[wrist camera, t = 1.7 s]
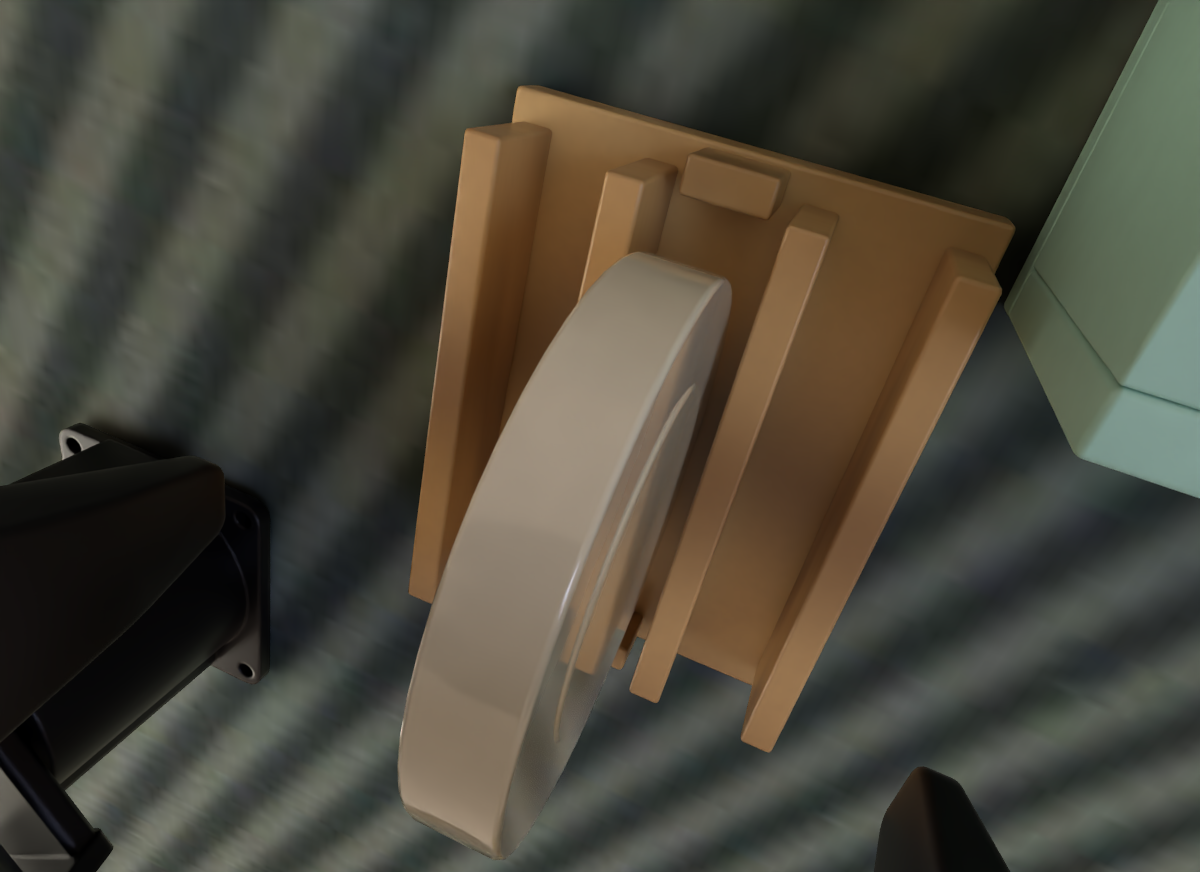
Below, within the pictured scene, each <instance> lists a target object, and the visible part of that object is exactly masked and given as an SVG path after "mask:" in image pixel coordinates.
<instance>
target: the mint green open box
mask: <svg viewBox="0 0 1200 872" xmlns="http://www.w3.org/2000/svg"><path fill="white" fill-rule="evenodd" d="M1004 309H1005V311H1006V313H1007V315H1008V316H1009V317H1010V320H1011V322H1012V324H1013V326H1014V328H1015V330H1016V332H1017V334H1018V337H1019V339H1020V341H1021V343H1022V345H1023V347H1024V349H1025V351H1026V353H1027V355H1028V358H1029V360H1030V362H1031V364H1032V366H1033V368H1034V370H1035V372H1036V374H1037V377H1038V379H1039V381H1040V383H1041V385H1042V387H1043V389H1044V391H1045V393H1046V395H1047V398H1048V400H1049V402H1050V404H1051V406H1052V408H1053V410H1054V412H1055V414H1056V417H1057V419H1058V421H1059V423H1060V425H1061V427H1062V429H1063V431H1064V433H1065V436H1066V438H1067V440H1068V442H1069V444H1070V446H1071V448H1072V450H1073V452H1074V454H1075V455H1077V456H1078V457H1079V458H1081V459H1084V460H1087V461H1090V462H1092V463H1095V464H1098V465H1101V466H1104V467H1107V468H1110V469H1113V470H1116V471H1119V472H1122V473H1125V474H1128V475H1131V476H1134V477H1137V478H1140V479H1143V480H1146V481H1149V482H1152V483H1155V484H1158V485H1161V486H1164V487H1167V488H1170V489H1173V490H1176V491H1179V492H1182V493H1185V494H1188V495H1191V496H1194V497H1197V498H1200V0H1158V2H1157V4H1156V6H1155V8H1154V10H1153V12H1152V14H1151V16H1150V18H1149V20H1148V22H1147V24H1146V26H1145V28H1144V30H1143V32H1142V34H1141V36H1140V38H1139V40H1138V42H1137V44H1136V46H1135V48H1134V50H1133V51H1132V53H1131V55H1130V57H1129V59H1128V61H1127V63H1126V65H1125V67H1124V69H1123V71H1122V73H1121V75H1120V77H1119V79H1118V81H1117V83H1116V85H1115V87H1114V89H1113V91H1112V93H1111V95H1110V97H1109V99H1108V101H1107V103H1106V105H1105V107H1104V108H1103V110H1102V112H1101V114H1100V116H1099V118H1098V120H1097V122H1096V124H1095V126H1094V128H1093V130H1092V132H1091V134H1090V136H1089V138H1088V140H1087V142H1086V144H1085V146H1084V148H1083V150H1082V152H1081V154H1080V156H1079V158H1078V160H1077V162H1076V163H1075V165H1074V167H1073V169H1072V171H1071V173H1070V175H1069V177H1068V179H1067V181H1066V183H1065V185H1064V187H1063V189H1062V191H1061V193H1060V195H1059V197H1058V199H1057V201H1056V203H1055V205H1054V207H1053V209H1052V211H1051V213H1050V215H1049V217H1048V219H1047V220H1046V222H1045V224H1044V226H1043V228H1042V230H1041V232H1040V234H1039V236H1038V238H1037V240H1036V242H1035V244H1034V246H1033V248H1032V250H1031V252H1030V254H1029V256H1028V258H1027V260H1026V262H1025V264H1024V266H1023V268H1022V270H1021V272H1020V274H1019V276H1018V277H1017V279H1016V281H1015V283H1014V285H1013V287H1012V289H1011V291H1010V293H1009V295H1008V297H1007V299H1006V301H1005V303H1004Z"/></svg>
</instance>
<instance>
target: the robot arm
mask: <svg viewBox="0 0 1200 872" xmlns="http://www.w3.org/2000/svg"><path fill="white" fill-rule="evenodd" d="M59 440H60V447H61V453H62V459H63V460H61V461H59V462H57V463H55V464H53V465H51V466H48V467H46V468H44V469H42V470H40V471H38V472H35V473H33V474H31V475H29V476H27V477H25V478H22V479H20V480H18V481H16V482H14V483H12V484H10V485H4V486H0V872H96V871H97V870H98V869H99V867H100V866H101V865H102V863H103V862H104V861H105V860H106V858H107V857H108V856H109V854H110V853H111V851H112V850H113V845H112V844H111V843H110V841H109V840H108V839H107V837H106V836H105V835H104V833H103V832H102V831H101V829H99V828H93V827H92V826H91V825H90V823H89V822H88V821H87V819H86V818H85V817H84V815H83V814H82V813H81V812H80V810H79V809H78V808H77V806H76V805H75V804H74V802H73V801H72V800H71V798H70V797H69V796H68V794H67V793H66V792H65V790H66V789H67V788H68V787H69V786H71V785H72V784H73V783H74V782H75V781H76V780H78V779H79V778H80V777H81V776H82V775H83V774H85V773H86V772H87V771H88V770H89V769H90V768H91V767H93V766H94V765H95V764H96V763H97V762H98V761H100V760H101V759H102V758H103V757H104V756H105V755H107V754H108V753H109V752H110V751H111V750H112V749H113V748H115V747H116V746H117V745H118V744H119V743H120V742H122V741H123V740H124V739H125V738H126V737H127V736H129V735H130V734H131V733H132V732H133V731H134V730H136V729H137V728H138V727H139V726H140V725H141V724H142V723H144V722H145V721H146V720H147V719H148V718H149V717H151V716H152V715H153V714H154V713H155V712H156V711H158V710H159V709H160V708H161V707H162V706H163V705H165V704H166V703H167V702H168V701H169V700H170V699H171V698H173V697H174V696H175V695H176V694H177V693H178V692H180V691H181V690H182V689H183V688H184V687H185V686H187V685H188V684H189V683H190V682H191V681H192V680H194V679H195V678H196V677H197V676H198V675H199V674H200V673H202V672H203V671H204V670H205V669H206V668H207V667H209V666H210V665H211V666H214V667H216V668H218V669H220V670H222V671H224V672H226V673H228V674H230V675H232V676H234V677H236V678H238V679H240V680H242V681H244V682H246V683H249V684H256V683H258V682H259V681H260V680H261V679H262V678H263V677H264V676H265V675H266V674H267V673H268V672H269V669H270V515H269V512H268V510H267V508H266V507H265V506H264V505H263V503H262V502H261V501H259V500H258V499H256V498H254V497H252V496H250V495H248V494H245V493H243V492H241V491H238V490H236V489H234V488H232V487H229V486H227V485H225V481H224V473H223V471H222V469H221V468H220V467H219V466H218V465H216V464H213V463H211V462H209V461H206V460H204V459H201V458H199V457H196V456H183V457H177V458H171V459H165V458H162V457H160V456H158V455H155V454H153V453H151V452H148V451H146V450H144V449H141V448H139V447H137V446H134V445H132V444H130V443H128V442H125V441H123V440H121V439H118V438H116V437H114V436H111V435H109V434H107V433H104V432H102V431H100V430H97V429H95V428H93V427H91V426H88V425H86V424H82V423H78V424H75V425H73V426H71V427H68V428H66V429H64V430H62V431H61V432H60V436H59ZM874 872H1010V870H1009V869H1008V867H1007V865H1006V863H1005V862H1004V860H1003V858H1002V856H1001V854H1000V853H999V851H998V849H997V847H996V846H995V844H994V842H993V840H992V839H991V837H990V835H989V833H988V832H987V830H986V828H985V826H984V825H983V823H982V821H981V819H980V818H979V816H978V814H977V812H976V811H975V809H974V807H973V805H972V804H971V802H970V800H969V798H968V796H967V795H966V793H965V791H964V789H963V788H962V786H961V785H960V784H959V783H958V782H957V781H956V780H954V779H953V778H950V777H948V776H946V775H943V774H941V773H939V772H936V771H934V770H932V769H929V768H927V767H917V768H916V769H915V770H913V771H912V773H911V774H910V776H909V777H908V779H907V780H906V782H905V783H904V785H903V786H902V788H901V789H900V791H899V792H898V794H897V795H896V797H895V798H894V800H893V801H892V803H891V804H890V806H889V808H888V809H887V811H886V813H885V815H884V818H883V821H882V824H881V828H880V834H879V841H878V847H877V854H876V861H875V868H874Z"/></svg>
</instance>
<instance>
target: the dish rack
mask: <svg viewBox="0 0 1200 872" xmlns="http://www.w3.org/2000/svg"><path fill="white" fill-rule="evenodd" d="M1015 229H1016V227H1015V226H1014V225H1013V223H1012V222H1011V221H1010V220H1009V219H1008V218H1007V217H1003V216H1000V215H996V214H993V213H989V212H986V211H982V210H978V209H975V208H971V207H968V206H964V205H961V204H957V203H954V202H950V201H947V200H943V199H939V198H936V197H932V196H929V195H925V194H922V193H918V192H915V191H911V190H908V189H904V188H900V187H897V186H893V185H890V184H886V183H883V182H879V181H876V180H872V179H869V178H865V177H861V176H858V175H854V174H851V173H847V172H844V171H840V170H837V169H833V168H830V167H826V166H822V165H819V164H815V163H812V162H808V161H805V160H801V159H798V158H794V157H791V156H787V155H783V154H780V153H776V152H773V151H769V150H766V149H762V148H759V147H755V146H752V145H748V144H744V143H741V142H737V141H734V140H730V139H727V138H723V137H720V136H716V135H713V134H709V133H705V132H702V131H698V130H695V129H691V128H688V127H684V126H681V125H677V124H674V123H670V122H666V121H663V120H659V119H656V118H652V117H649V116H645V115H642V114H638V113H635V112H631V111H627V110H624V109H620V108H617V107H613V106H610V105H606V104H603V103H599V102H596V101H592V100H588V99H585V98H581V97H578V96H574V95H571V94H567V93H564V92H560V91H557V90H553V89H549V88H546V87H542V86H539V85H529V86H519V87H518V89H517V93H516V99H515V106H514V113H513V119H512V123H507V124H499V125H491V126H483V127H475V128H468V129H466V131H465V135H464V143H463V151H462V159H461V167H460V176H459V184H458V192H457V200H456V208H455V216H454V224H453V232H452V241H451V249H450V257H449V265H448V273H447V281H446V289H445V297H444V306H443V314H442V322H441V330H440V338H439V346H438V354H437V363H436V371H435V379H434V387H433V395H432V403H431V411H430V419H429V428H428V436H427V444H426V452H425V460H424V468H423V476H422V484H421V493H420V501H419V509H418V517H417V525H416V533H415V541H414V549H413V558H412V566H411V574H410V582H409V590H408V592H409V594H410V595H412V596H414V597H417V598H419V599H421V600H423V601H426V602H428V603H431V604H432V603H433V600H434V597H435V594H436V591H437V588H438V586H439V583H440V580H441V577H442V574H443V571H444V568H445V566H446V563H447V560H448V557H449V554H450V551H451V549H452V546H453V543H454V541H455V538H456V536H457V533H458V531H459V528H460V526H461V523H462V521H463V518H464V516H465V513H466V511H467V508H468V506H469V503H470V501H471V498H472V496H473V494H474V491H475V489H476V487H477V485H478V482H479V480H480V478H481V476H482V474H483V471H484V469H485V467H486V465H487V462H488V460H489V458H490V456H491V453H492V451H493V449H494V447H495V445H496V443H497V441H498V439H499V437H500V435H501V433H502V431H503V429H504V427H505V425H506V423H507V421H508V419H509V417H510V415H511V413H512V411H513V409H514V407H515V405H516V403H517V401H518V399H519V397H520V395H521V393H522V391H523V390H524V388H525V386H526V384H527V382H528V381H529V379H530V377H531V375H532V374H533V372H534V370H535V368H536V366H537V365H538V363H539V361H540V359H541V358H542V356H543V354H544V353H545V351H546V350H547V348H548V346H549V345H550V343H551V342H552V340H553V339H554V337H555V335H556V334H557V332H558V331H559V329H560V328H561V326H562V324H563V323H564V321H565V320H566V318H567V317H568V316H569V314H570V313H571V312H572V310H573V309H574V308H575V306H576V305H577V303H578V302H579V301H580V299H581V298H582V297H583V295H584V294H585V293H586V291H587V290H588V289H589V288H590V287H591V286H592V285H593V283H594V282H595V281H596V280H597V279H598V278H599V277H600V276H601V275H602V273H603V272H604V271H605V270H607V269H608V268H609V267H610V266H611V265H613V264H614V263H615V262H616V261H617V260H619V259H620V258H622V257H624V256H626V255H628V254H630V253H632V252H645V251H647V252H651V253H654V254H657V255H660V256H663V257H666V258H669V259H673V260H676V261H679V262H682V263H685V264H688V265H691V266H695V267H698V268H701V269H704V270H707V271H710V272H713V273H716V274H720V275H723V276H724V277H725V278H726V279H728V281H729V282H730V283H731V289H732V304H731V313H730V320H729V325H728V330H727V335H726V339H725V344H724V348H723V352H722V356H721V360H720V364H719V367H718V371H717V375H716V379H715V382H714V385H713V389H712V392H711V396H710V399H709V403H708V406H707V409H706V412H705V416H704V419H703V422H702V425H701V428H700V431H699V435H698V438H697V441H696V444H695V447H694V450H693V453H692V456H691V459H690V462H689V465H688V468H687V471H686V473H685V476H684V479H683V482H682V485H681V488H680V491H679V494H678V496H677V499H676V502H675V505H674V507H673V510H672V513H671V516H670V519H669V521H668V524H667V527H666V529H665V532H664V535H663V538H662V540H661V543H660V546H659V548H658V551H657V553H656V556H655V559H654V561H653V564H652V567H651V569H650V572H649V574H648V577H647V579H646V582H645V584H644V587H643V590H642V592H641V595H640V597H639V600H638V602H637V605H636V607H635V610H634V612H633V615H632V617H631V620H630V622H629V624H628V627H627V629H626V632H625V634H624V637H623V639H622V641H621V644H620V646H619V649H618V651H617V653H616V656H615V658H614V660H613V663H612V665H611V666H612V667H614V668H616V669H622V668H623V666H624V664H625V662H626V660H627V657H628V655H629V653H630V651H631V649H632V646H633V644H634V642H635V640H636V638H637V637H640V638H642V639H644V640H645V643H644V646H643V649H642V652H641V655H640V658H639V661H638V664H637V667H636V670H635V672H634V675H633V678H632V681H631V684H630V687H629V689H630V692H631V693H634V694H636V695H638V696H640V697H643V698H645V699H647V700H649V701H652V702H654V703H657V702H658V701H659V699H660V697H661V694H662V691H663V689H664V686H665V683H666V681H667V678H668V675H669V673H670V670H671V667H672V665H673V662H674V659H675V657H676V654H679V655H682V656H684V657H687V658H689V659H691V660H694V661H696V662H698V663H701V664H703V665H705V666H708V667H710V668H712V669H715V670H717V671H719V672H722V673H724V674H726V675H729V676H731V677H734V678H736V679H738V680H741V681H743V682H745V683H748V684H750V685H752V689H751V693H750V698H749V702H748V706H747V710H746V715H745V719H744V723H743V728H742V732H741V740H742V741H743V742H745V743H747V744H750V745H752V746H754V747H756V748H759V749H761V750H763V751H765V752H770V751H771V750H772V749H773V747H774V745H775V743H776V741H777V739H778V737H779V735H780V733H781V731H782V729H783V727H784V725H785V723H786V721H787V719H788V717H789V715H790V713H791V711H792V709H793V707H794V705H795V703H796V701H797V699H798V697H799V695H800V693H801V691H802V689H803V687H804V685H805V683H806V681H807V679H808V677H809V675H810V673H811V671H812V669H813V667H814V665H815V663H816V662H817V660H818V658H819V656H820V654H821V652H822V650H823V648H824V646H825V644H826V642H827V640H828V638H829V636H830V634H831V632H832V630H833V628H834V626H835V624H836V622H837V620H838V618H839V616H840V614H841V612H842V610H843V608H844V606H845V604H846V602H847V600H848V598H849V596H850V594H851V592H852V590H853V588H854V586H855V584H856V582H857V580H858V578H859V576H860V574H861V572H862V570H863V568H864V566H865V564H866V562H867V560H868V558H869V556H870V554H871V552H872V550H873V548H874V546H875V544H876V542H877V540H878V538H879V536H880V534H881V532H882V530H883V529H884V527H885V525H886V523H887V521H888V519H889V517H890V515H891V513H892V511H893V509H894V507H895V505H896V503H897V501H898V499H899V497H900V495H901V493H902V491H903V489H904V487H905V485H906V483H907V481H908V479H909V477H910V475H911V473H912V471H913V469H914V467H915V465H916V463H917V461H918V459H919V457H920V455H921V453H922V451H923V449H924V447H925V445H926V443H927V441H928V439H929V437H930V435H931V433H932V431H933V429H934V427H935V425H936V423H937V421H938V419H939V417H940V415H941V413H942V411H943V409H944V407H945V405H946V403H947V401H948V399H949V397H950V396H951V394H952V392H953V390H954V388H955V386H956V384H957V382H958V380H959V378H960V376H961V374H962V372H963V370H964V368H965V366H966V364H967V362H968V360H969V358H970V356H971V354H972V352H973V350H974V348H975V346H976V344H977V342H978V340H979V338H980V336H981V334H982V332H983V330H984V328H985V326H986V324H987V322H988V320H989V318H990V316H991V314H992V312H993V310H994V308H995V306H996V304H997V302H998V300H999V298H1000V296H1001V294H1002V288H1001V286H1000V284H999V282H998V280H997V278H996V276H995V272H996V270H997V268H998V266H999V264H1000V262H1001V260H1002V258H1003V256H1004V254H1005V252H1006V250H1007V248H1008V246H1009V244H1010V242H1011V239H1012V237H1013V235H1014V233H1015Z"/></svg>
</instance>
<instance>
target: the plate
mask: <svg viewBox="0 0 1200 872" xmlns="http://www.w3.org/2000/svg"><path fill="white" fill-rule="evenodd" d="M731 304H732V289H731V283H730V282H729V281H728V279H726V278H725V277H724V276H723V275H720V274H716V273H713V272H710V271H707V270H704V269H701V268H698V267H695V266H691V265H688V264H685V263H682V262H679V261H676V260H673V259H669V258H666V257H663V256H660V255H657V254H654V253H651V252H647V251H645V252H632V253H630V254H628V255H626V256H624V257H622V258H620V259H619V260H617V261H616V262H615V263H614V264H613V265H611V266H610V267H609V268H608V269H607V270H605V271H604V272H603V273H602V275H601V276H600V277H599V278H598V279H597V280H596V281H595V282H594V283H593V285H592V286H591V287H590V288H589V289H588V290H587V291H586V293H585V294H584V295H583V297H582V298H581V299H580V301H579V302H578V303H577V305H576V306H575V308H574V309H573V310H572V312H571V313H570V314H569V316H568V317H567V318H566V320H565V321H564V323H563V324H562V326H561V328H560V329H559V331H558V332H557V334H556V335H555V337H554V339H553V340H552V342H551V343H550V345H549V346H548V348H547V350H546V351H545V353H544V354H543V356H542V358H541V359H540V361H539V363H538V365H537V366H536V368H535V370H534V372H533V374H532V375H531V377H530V379H529V381H528V382H527V384H526V386H525V388H524V390H523V391H522V393H521V395H520V397H519V399H518V401H517V403H516V405H515V407H514V409H513V411H512V413H511V415H510V417H509V419H508V421H507V423H506V425H505V427H504V429H503V431H502V433H501V435H500V437H499V439H498V441H497V443H496V445H495V447H494V449H493V451H492V453H491V456H490V458H489V460H488V462H487V465H486V467H485V469H484V471H483V474H482V476H481V478H480V480H479V482H478V485H477V487H476V489H475V491H474V494H473V496H472V498H471V501H470V503H469V506H468V508H467V511H466V513H465V516H464V518H463V521H462V523H461V526H460V528H459V531H458V533H457V536H456V538H455V541H454V543H453V546H452V549H451V551H450V554H449V557H448V560H447V563H446V566H445V568H444V571H443V574H442V577H441V580H440V583H439V586H438V588H437V591H436V594H435V597H434V600H433V603H432V606H431V610H430V613H429V616H428V620H427V623H426V626H425V630H424V633H423V636H422V640H421V643H420V646H419V650H418V654H417V658H416V662H415V666H414V670H413V674H412V678H411V683H410V687H409V691H408V695H407V700H406V706H405V711H404V717H403V723H402V728H401V734H400V743H399V755H398V767H397V770H398V788H399V794H400V798H401V801H402V804H403V807H404V809H405V810H406V811H407V812H408V813H409V815H410V816H411V817H412V818H413V819H414V820H416V821H418V822H420V823H422V824H423V825H425V826H427V827H429V828H431V829H433V830H435V831H437V832H439V833H441V834H443V835H445V836H447V837H449V838H451V839H453V840H455V841H457V842H459V843H461V844H463V845H465V846H467V847H469V848H471V849H473V850H475V851H477V852H479V853H481V854H483V855H485V856H487V857H489V858H491V859H493V860H504V859H506V858H507V857H508V856H509V855H511V854H512V853H513V852H514V851H515V850H516V848H517V847H518V846H519V845H520V843H521V842H522V841H523V839H524V838H525V837H526V835H527V834H528V832H529V830H530V829H531V827H532V826H533V824H534V823H535V821H536V819H537V818H538V816H539V814H540V812H541V811H542V809H543V807H544V806H545V804H546V802H547V800H548V798H549V796H550V794H551V793H552V791H553V789H554V787H555V785H556V783H557V781H558V779H559V777H560V775H561V773H562V771H563V769H564V767H565V765H566V763H567V761H568V759H569V757H570V755H571V753H572V751H573V749H574V747H575V745H576V743H577V741H578V739H579V736H580V734H581V732H582V730H583V728H584V726H585V724H586V721H587V719H588V717H589V715H590V713H591V710H592V708H593V706H594V704H595V702H596V699H597V697H598V695H599V693H600V690H601V688H602V686H603V683H604V681H605V679H606V677H607V674H608V672H609V670H610V667H611V665H612V663H613V660H614V658H615V656H616V653H617V651H618V649H619V646H620V644H621V641H622V639H623V637H624V634H625V632H626V629H627V627H628V624H629V622H630V620H631V617H632V615H633V612H634V610H635V607H636V605H637V602H638V600H639V597H640V595H641V592H642V590H643V587H644V584H645V582H646V579H647V577H648V574H649V572H650V569H651V567H652V564H653V561H654V559H655V556H656V553H657V551H658V548H659V546H660V543H661V540H662V538H663V535H664V532H665V529H666V527H667V524H668V521H669V519H670V516H671V513H672V510H673V507H674V505H675V502H676V499H677V496H678V494H679V491H680V488H681V485H682V482H683V479H684V476H685V473H686V471H687V468H688V465H689V462H690V459H691V456H692V453H693V450H694V447H695V444H696V441H697V438H698V435H699V431H700V428H701V425H702V422H703V419H704V416H705V412H706V409H707V406H708V403H709V399H710V396H711V392H712V389H713V385H714V382H715V379H716V375H717V371H718V367H719V364H720V360H721V356H722V352H723V348H724V344H725V339H726V335H727V330H728V325H729V320H730V313H731Z"/></svg>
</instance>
